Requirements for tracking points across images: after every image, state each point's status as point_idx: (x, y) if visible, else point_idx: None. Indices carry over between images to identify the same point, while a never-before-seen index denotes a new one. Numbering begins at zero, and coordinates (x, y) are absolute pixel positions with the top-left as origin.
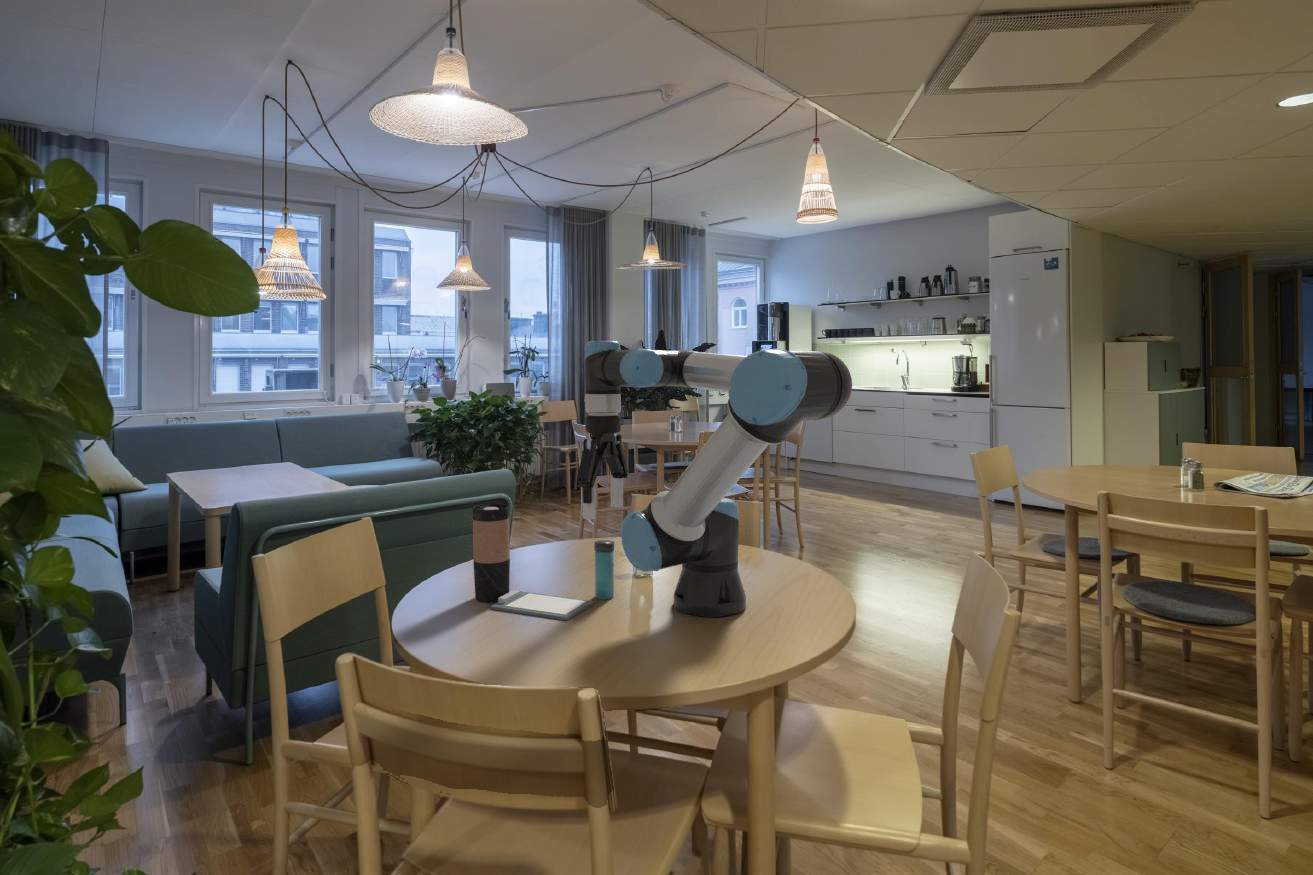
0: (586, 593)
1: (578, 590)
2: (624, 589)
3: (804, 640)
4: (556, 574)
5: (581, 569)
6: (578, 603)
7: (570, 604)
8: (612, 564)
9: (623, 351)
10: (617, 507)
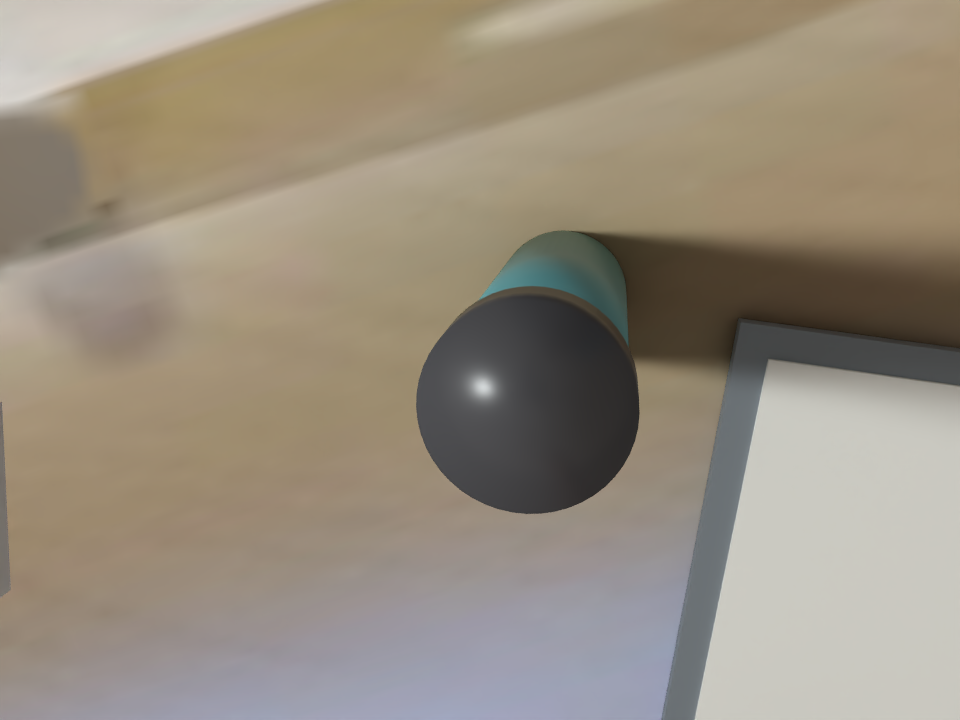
0: None
1: None
2: (373, 208)
3: None
4: (215, 716)
5: (63, 608)
6: (830, 395)
7: (860, 439)
8: (560, 269)
9: None
10: (4, 476)
